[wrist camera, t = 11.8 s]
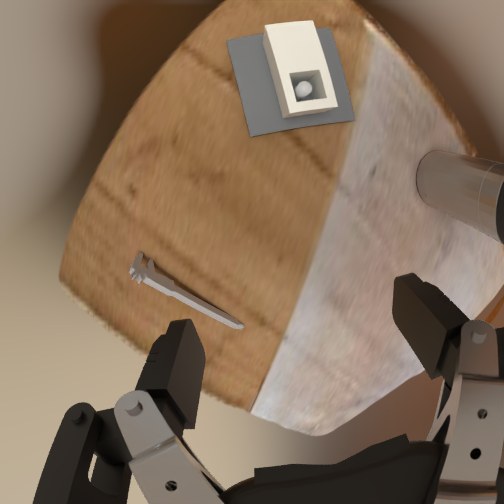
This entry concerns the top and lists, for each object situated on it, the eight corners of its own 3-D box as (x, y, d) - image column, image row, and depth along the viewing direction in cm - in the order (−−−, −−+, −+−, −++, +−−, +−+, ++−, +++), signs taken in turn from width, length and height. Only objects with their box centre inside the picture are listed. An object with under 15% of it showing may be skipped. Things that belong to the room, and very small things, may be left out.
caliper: (138, 255, 40) (122, 273, 34) (141, 250, 39) (125, 268, 34) (241, 327, 45) (240, 353, 39) (245, 323, 44) (244, 349, 39)
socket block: (303, 37, 27) (312, 20, 21) (323, 112, 31) (338, 106, 25) (262, 42, 27) (264, 25, 21) (282, 118, 31) (289, 113, 26)
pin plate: (327, 30, 27) (340, 13, 21) (352, 120, 32) (370, 117, 26) (226, 43, 28) (222, 26, 22) (250, 137, 33) (250, 135, 27)
